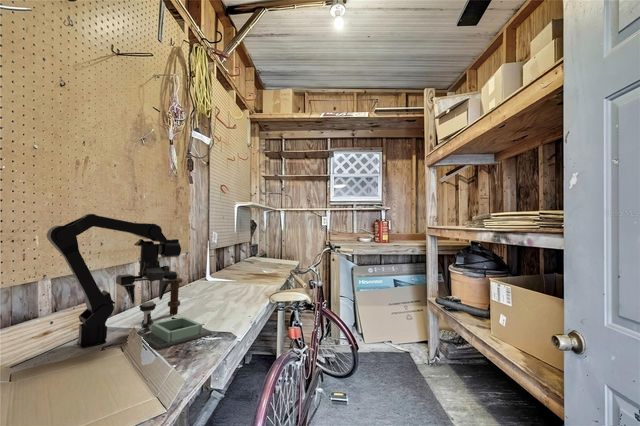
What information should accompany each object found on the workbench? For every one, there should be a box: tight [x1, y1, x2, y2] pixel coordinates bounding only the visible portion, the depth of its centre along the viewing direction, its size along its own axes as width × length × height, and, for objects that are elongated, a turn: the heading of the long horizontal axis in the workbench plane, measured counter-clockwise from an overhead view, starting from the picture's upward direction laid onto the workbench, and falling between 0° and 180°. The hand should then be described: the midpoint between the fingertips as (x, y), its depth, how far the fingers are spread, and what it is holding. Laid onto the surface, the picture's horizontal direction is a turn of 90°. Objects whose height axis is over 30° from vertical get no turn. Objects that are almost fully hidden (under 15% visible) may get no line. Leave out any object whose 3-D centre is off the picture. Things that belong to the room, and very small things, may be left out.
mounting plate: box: [139, 326, 212, 350], centre depth 104 cm, size 18×14×1 cm
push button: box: [138, 300, 157, 334], centre depth 109 cm, size 7×5×10 cm
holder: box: [150, 316, 203, 343], centre depth 104 cm, size 11×13×3 cm
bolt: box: [167, 277, 183, 316], centre depth 130 cm, size 6×5×15 cm
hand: (146, 301), depth 109 cm, fingers open, 9 cm apart
